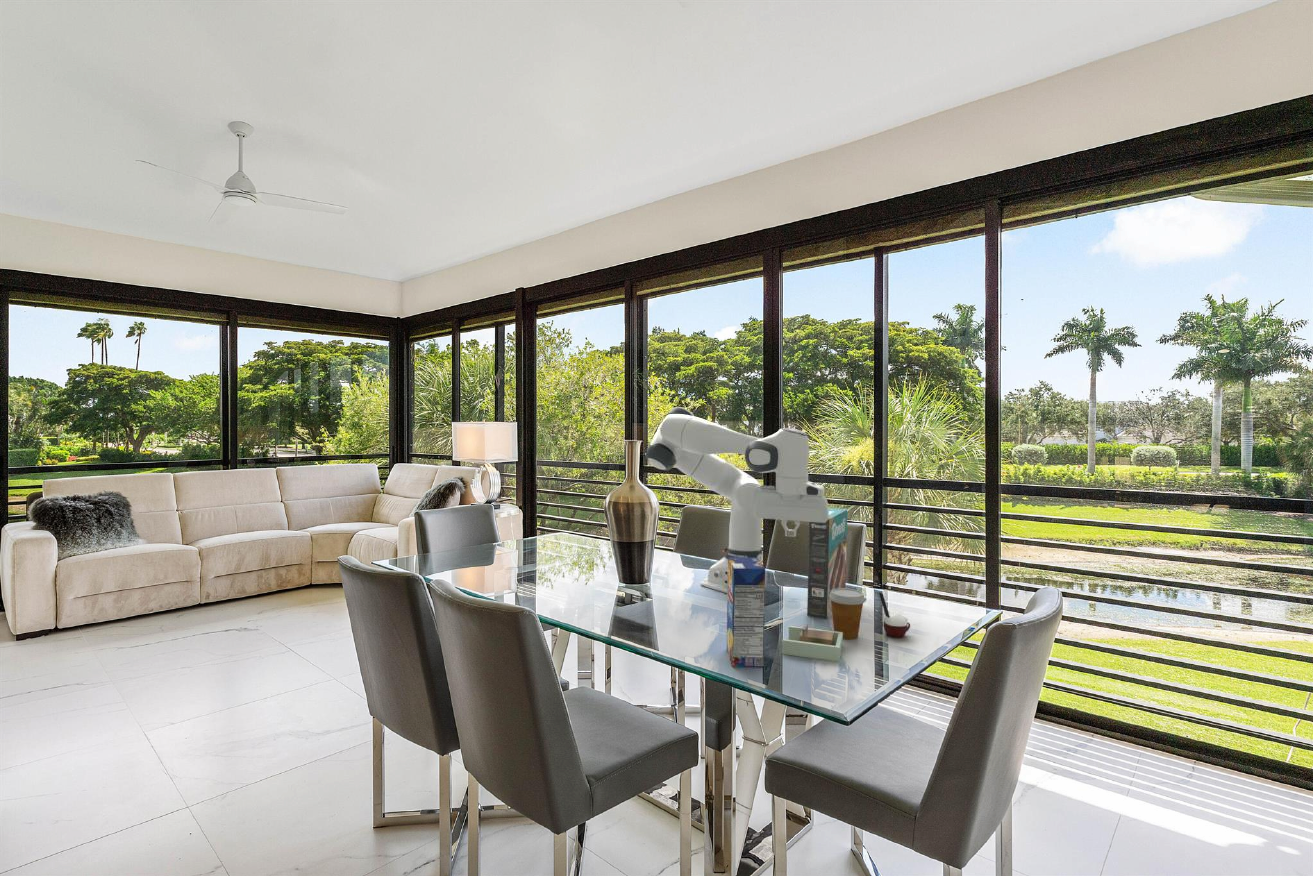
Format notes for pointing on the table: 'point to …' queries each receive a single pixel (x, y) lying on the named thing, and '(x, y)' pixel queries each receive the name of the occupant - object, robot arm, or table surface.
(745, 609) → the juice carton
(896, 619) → the cocoa
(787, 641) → the bay
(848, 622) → the disposable coffee cup
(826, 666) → the table surface
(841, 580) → the cake mix box
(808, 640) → the cart
